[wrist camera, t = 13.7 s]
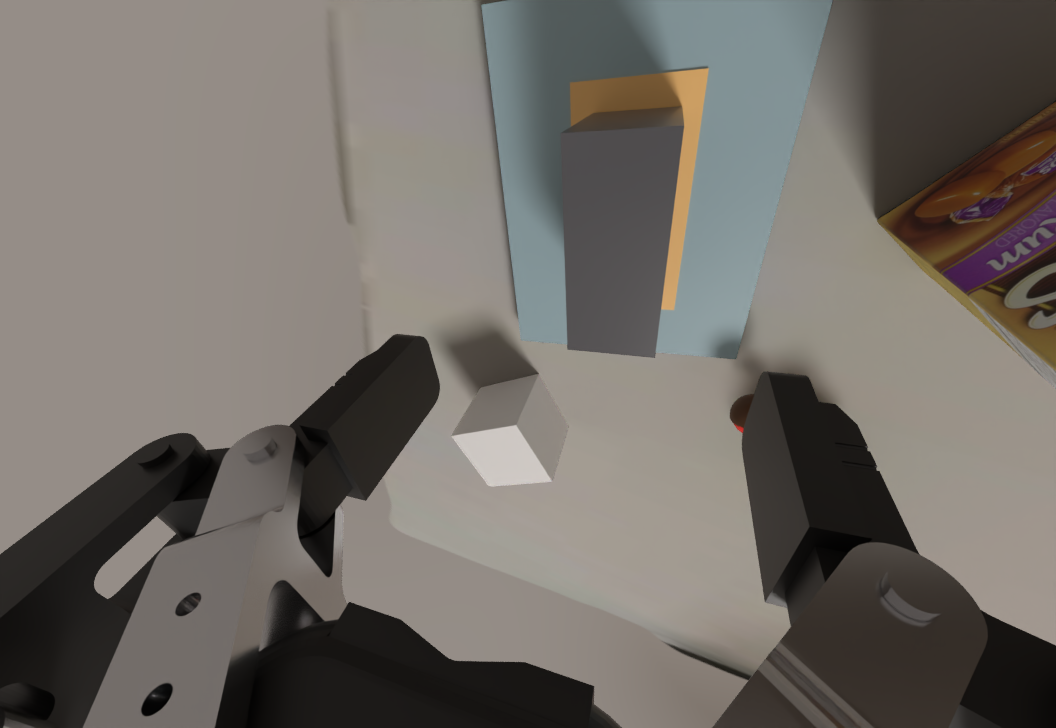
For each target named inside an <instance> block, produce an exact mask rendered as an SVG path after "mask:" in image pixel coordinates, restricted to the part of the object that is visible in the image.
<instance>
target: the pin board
mask: <svg viewBox="0 0 1056 728" xmlns="http://www.w3.org/2000/svg"><path fill="white" fill-rule="evenodd" d="M832 2H833V0H506V1H501V2H495V3H489V4H483V5H481V6H482V15H483V23H484V32H485V40H486V49H487V57H488V65H489V74H490V82H491V91H492V99H493V108H494V116H495V125H496V133H497V142H498V150H499V159H500V167H501V176H502V184H503V192H504V201H505V209H506V218H507V226H508V235H509V243H510V252H511V260H512V269H513V277H514V286H515V294H516V303H517V311H518V319H519V328H520V336H521V340H523V341H535V342H546V343H557V344H567V318H566V287H565V256H564V225H563V194H562V163H561V133H562V132H563V131H565V130H566V129H568V128H570V127H571V126H573V125H575V124H576V123H578V122H579V121H581V120H583V119H584V118H586V117H588V116H589V115H591V114H592V113H598V112H612V111H625V110H638V109H651V108H665V107H678V106H682V108H683V118H684V132H683V140H682V148H681V156H680V164H679V171H678V179H677V187H676V195H675V203H674V211H673V219H672V227H671V235H670V243H669V251H668V258H667V266H666V274H665V282H664V290H663V298H662V306H661V314H660V322H659V330H658V338H657V345H656V352H659V353H670V354H682V355H693V356H704V357H716V358H727V359H736V358H737V354H738V350H739V346H740V343H741V339H742V335H743V332H744V328H745V324H746V321H747V317H748V313H749V309H750V306H751V302H752V298H753V295H754V291H755V287H756V283H757V280H758V276H759V272H760V269H761V265H762V261H763V258H764V254H765V250H766V246H767V243H768V239H769V235H770V232H771V228H772V224H773V220H774V217H775V213H776V209H777V206H778V202H779V198H780V194H781V191H782V187H783V183H784V180H785V176H786V172H787V169H788V165H789V161H790V157H791V154H792V150H793V146H794V143H795V139H796V135H797V131H798V128H799V124H800V120H801V117H802V113H803V109H804V106H805V102H806V98H807V94H808V91H809V87H810V83H811V80H812V76H813V72H814V68H815V65H816V61H817V57H818V54H819V50H820V46H821V43H822V39H823V35H824V31H825V28H826V24H827V20H828V17H829V13H830V9H831V5H832Z"/></svg>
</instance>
